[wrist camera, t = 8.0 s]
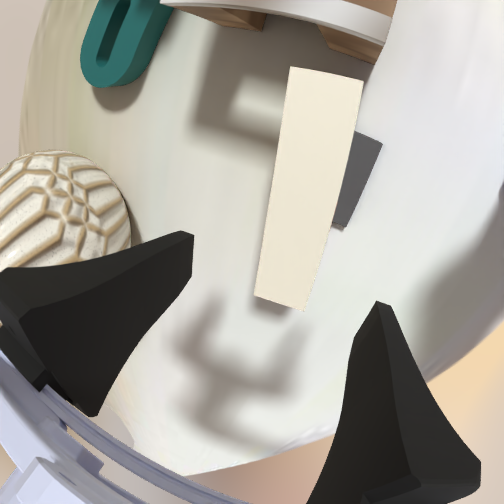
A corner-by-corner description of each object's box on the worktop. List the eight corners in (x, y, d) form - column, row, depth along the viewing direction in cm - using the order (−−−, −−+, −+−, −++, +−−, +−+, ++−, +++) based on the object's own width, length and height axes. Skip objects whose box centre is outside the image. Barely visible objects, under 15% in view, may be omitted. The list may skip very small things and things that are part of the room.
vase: (118, 293, 32) (9, 407, 16) (46, 197, 29) (-74, 278, 13) (190, 228, 23) (-1, 418, 7) (88, 99, 20) (-112, 180, 4)
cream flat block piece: (361, 88, 13) (364, 81, 9) (319, 261, 20) (304, 311, 16) (310, 77, 14) (289, 66, 10) (279, 248, 21) (253, 295, 16)
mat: (381, 143, 15) (382, 144, 15) (346, 224, 19) (345, 227, 18) (305, 112, 16) (304, 112, 15) (278, 195, 19) (276, 197, 19)
